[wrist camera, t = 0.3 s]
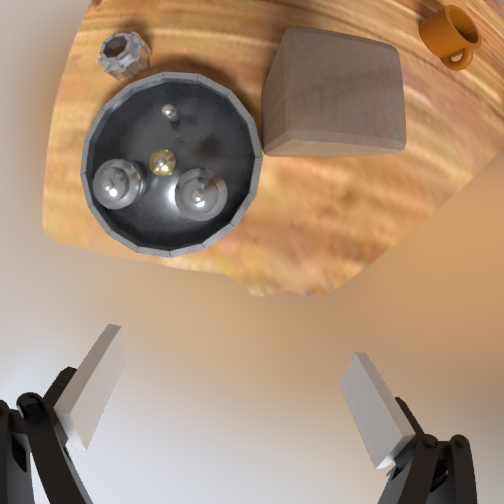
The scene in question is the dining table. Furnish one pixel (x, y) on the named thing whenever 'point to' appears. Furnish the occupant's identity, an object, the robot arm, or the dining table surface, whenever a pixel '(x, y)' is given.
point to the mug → (451, 36)
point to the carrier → (171, 164)
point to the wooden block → (333, 97)
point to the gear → (124, 55)
